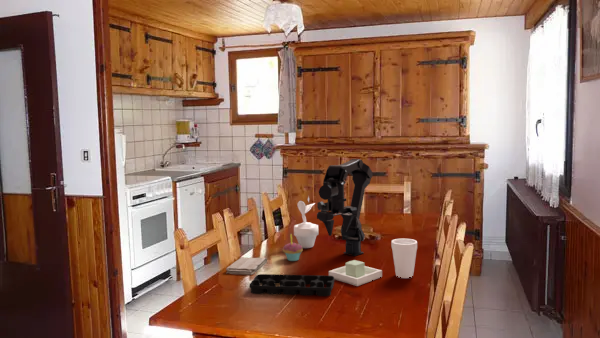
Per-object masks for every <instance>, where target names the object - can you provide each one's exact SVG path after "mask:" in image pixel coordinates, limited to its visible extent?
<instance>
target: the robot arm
mask: <svg viewBox="0 0 600 338" xmlns="http://www.w3.org/2000/svg"><path fill="white" fill-rule="evenodd" d="M348 174H351V176H352V178H351V179H352V182H353V185H354V187H353V191H352V196H351V202H350V205H346V206H345V202H347V198H345V184H347V182H346V181H345V180H346V178H347V177H348ZM372 178H373V171H372V169H371V167H370V166H369V165H368V164H366V163H364V161H363V160H362V159H358V158H352V159H350V160H349V161H346V162H344V163H342V164H334V165H333V164H331V165H329V166H328V167H327V168H326V172H325V175H324V178H323V180H322V185H321V186H320V187H319V189H318V195H319V197H320V198H321V199H322V200H324V201H326V200H327V202H324V201H318V202H317V204H316V205H317V206H316V207H317V210H318V212H317V213H316V219H317V220H319V221H320V222H322V223H323V224H324V226H325V229H326V232H327V234H328V236H330V237H332V236H333V235H332V234H333V229H334V223H335V219H334V217H336V216H341V218H342V223H341V228H340V234H341V240H342V241H345V251H343V254H344V255H349V256H353V257H355V256H358V255H363V254H365V253H364V251H361V250H362V247H361V246H362V243H361V242H365V241H364V240H365V232H364V231H363V229H362V223H361V221H360V217H361V212H362V207H363V201H364V195H365V191H366V188H367V187H368V186H369V185H370V184H371V180H372Z"/></svg>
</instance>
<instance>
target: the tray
mask: <svg viewBox="0 0 600 338" xmlns="http://www.w3.org/2000/svg"><path fill="white" fill-rule="evenodd" d="M328 276H333V277H334V281H339V282H342V283H346V284H349V285H353V286H354V287H355V286H356V287H359V286H361V285H364V284H365V285H366V284H367V283H369V282H372V280H373V281H375V280H378V279H381V278H382V277H383V270H382V269H377V268H374V267H371V266H370V267H369V266H368V265H367V266H366V265H365V275H364V276H361V277H358V278H355V277H352V276H348V275H346V265H344V266H340V267H337V268H334V269H332V270H328ZM380 277H381V278H380Z"/></svg>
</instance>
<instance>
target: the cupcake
mask: <svg viewBox="0 0 600 338" xmlns="http://www.w3.org/2000/svg"><path fill="white" fill-rule="evenodd" d="M289 237H290V242H289V243H286V244H285V245H284V246H283V247H282V252H283V253H284V255H285V256H286V260H288V261H290V262H296V261H299V259H300V257H301V254H302V252H303V249H304V248H303V247H302V246H301V245H299V243H298V242H293V234H292V233H290V236H289Z"/></svg>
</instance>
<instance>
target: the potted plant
mask: <svg viewBox="0 0 600 338" xmlns="http://www.w3.org/2000/svg"><path fill="white" fill-rule="evenodd" d="M307 201H308V203H310V196H309V194H308V197H307ZM315 204H316V202H314V203H310V204H306V203H305V202H304V201H302V200H299V201H298V202H297V204H296V205H297V208H298V211H299V212H300V214H301V218H302V222H301V223H298V224H297V223H296V224H294V225H293V236H295V238H296V241H297V243H298V244H299V245H301V246H302V247H303V248H302V249H310V248H313V247H314V246H315V242H316V239H317V236H319V224H316V223H312V222H308V221H307V217H306V214H307V213H308V212H310V211H311V209H312V208H313V206H314V205H315Z"/></svg>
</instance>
